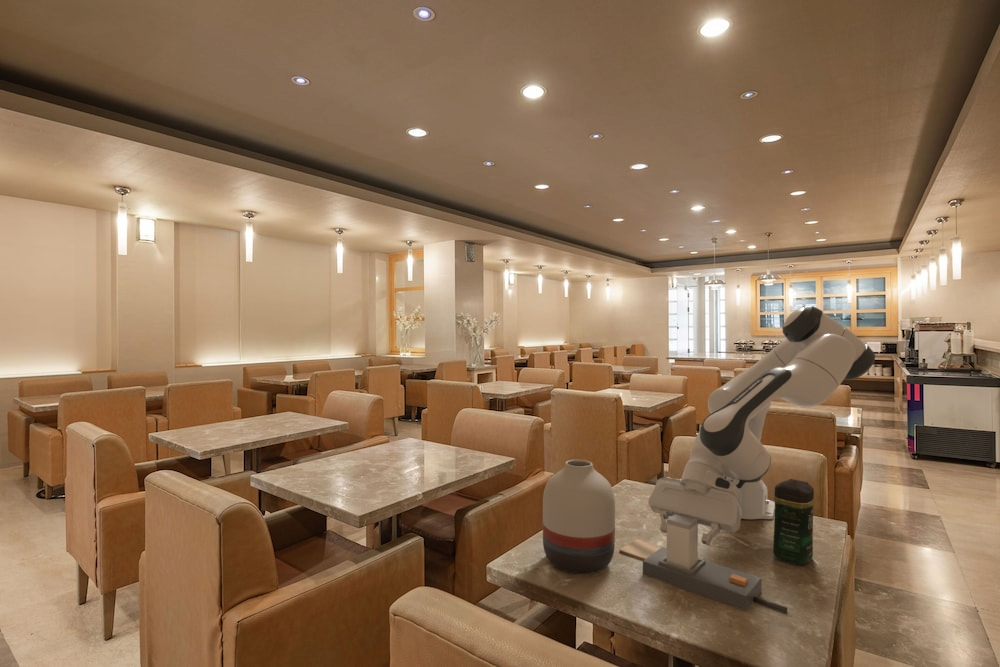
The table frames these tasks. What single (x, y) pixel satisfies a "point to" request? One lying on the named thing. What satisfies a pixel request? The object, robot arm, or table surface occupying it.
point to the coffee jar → (793, 522)
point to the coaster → (640, 549)
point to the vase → (579, 519)
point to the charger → (682, 541)
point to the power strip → (709, 581)
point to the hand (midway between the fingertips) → (684, 537)
